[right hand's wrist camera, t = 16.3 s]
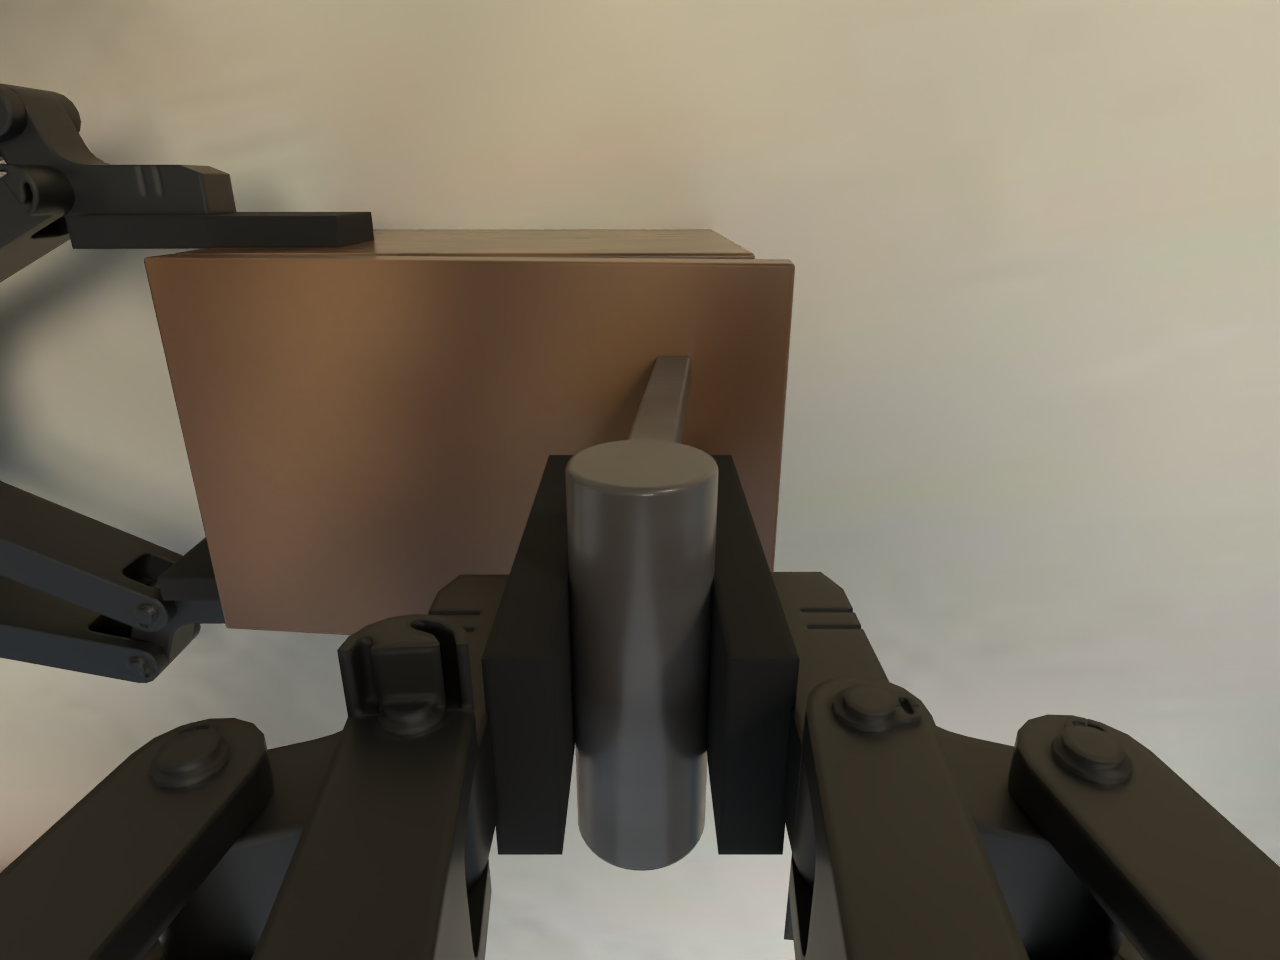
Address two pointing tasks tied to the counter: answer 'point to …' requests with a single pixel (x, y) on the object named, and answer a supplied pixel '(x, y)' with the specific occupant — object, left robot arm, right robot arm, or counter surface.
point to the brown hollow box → (523, 244)
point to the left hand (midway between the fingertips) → (379, 411)
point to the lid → (493, 465)
